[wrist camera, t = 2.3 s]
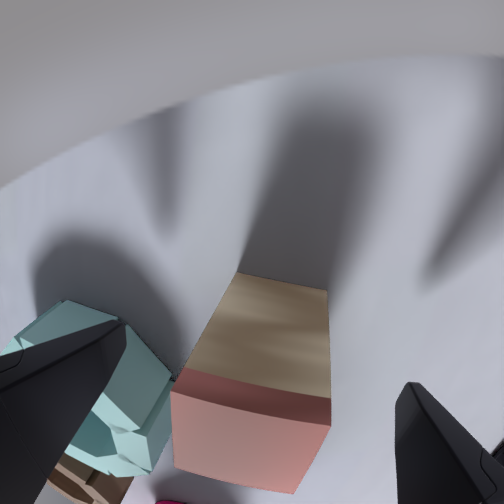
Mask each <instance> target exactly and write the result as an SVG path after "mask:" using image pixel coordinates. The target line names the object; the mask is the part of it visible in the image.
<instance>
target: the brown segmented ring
mask: <svg viewBox="0 0 504 504" xmlns="http://www.w3.org/2000/svg"><path fill="white" fill-rule="evenodd" d="M133 479H134V478H133V477H132V476H129V477H116V476H114V475H113V474H112V473H111V474H110V475H107V474H105V473H103V472H101V471H99V470H97V469H95V468H93V467H91V466H89V465H87V464H85V463H83V462H81V461H79V460H77V459H75V458H73V457H71V456H69V455H68V454H66V453H65V452H64V453H63V455H62V457H61V458H60V460H59V462H58V463H57V465H56V466H55V468H54V470H53V471H52V473H51V475H50V476H49V478H48V480H47V484H48V485H49V486H51V487H52V488H53V489H55V490H56V491H58V492H59V493H61V494H62V495H64V496H65V497H67V498H68V499H70V500H71V501H73V502H74V503H78V504H120V503H121V501H122V500H123V498H124V496H125V494H126V492H127V490H128V488H129V486H130V484H131V482H132V481H133Z"/></svg>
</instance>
